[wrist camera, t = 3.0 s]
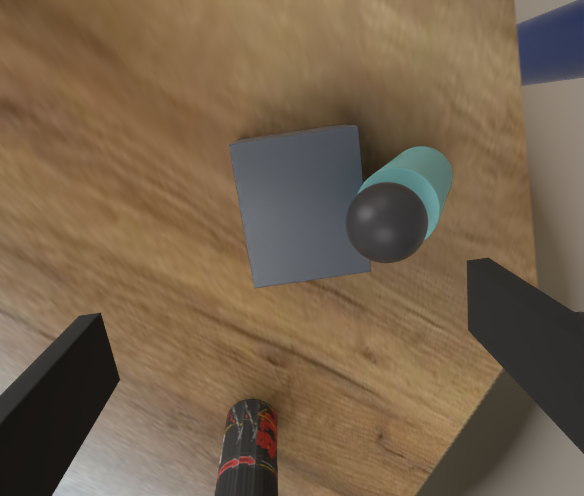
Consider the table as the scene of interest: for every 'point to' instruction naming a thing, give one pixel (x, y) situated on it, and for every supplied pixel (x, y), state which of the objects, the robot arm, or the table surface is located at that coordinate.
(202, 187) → the table surface
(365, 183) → the teal cylinder with ball
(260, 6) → the table surface
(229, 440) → the deodorant
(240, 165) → the gray block
